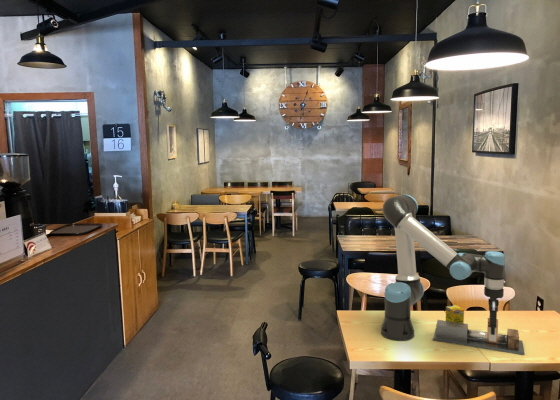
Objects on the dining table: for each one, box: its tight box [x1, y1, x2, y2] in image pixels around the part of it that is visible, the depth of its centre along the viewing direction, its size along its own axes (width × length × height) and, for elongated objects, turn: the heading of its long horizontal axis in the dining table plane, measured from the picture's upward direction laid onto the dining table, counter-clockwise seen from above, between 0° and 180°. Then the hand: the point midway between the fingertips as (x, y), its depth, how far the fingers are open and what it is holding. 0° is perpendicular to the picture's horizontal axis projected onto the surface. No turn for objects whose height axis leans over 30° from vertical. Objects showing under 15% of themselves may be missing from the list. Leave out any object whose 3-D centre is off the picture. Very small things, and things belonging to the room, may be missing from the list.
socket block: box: [506, 328, 520, 349], centre depth 182 cm, size 4×8×6 cm, turn 154°
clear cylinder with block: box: [467, 317, 508, 344], centre depth 187 cm, size 20×4×10 cm, turn 64°
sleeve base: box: [432, 319, 525, 356], centre depth 188 cm, size 36×12×6 cm, turn 64°
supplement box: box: [445, 304, 465, 323], centre depth 201 cm, size 6×6×11 cm
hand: (492, 338), depth 185 cm, fingers closed on clear cylinder with block, 4 cm apart
